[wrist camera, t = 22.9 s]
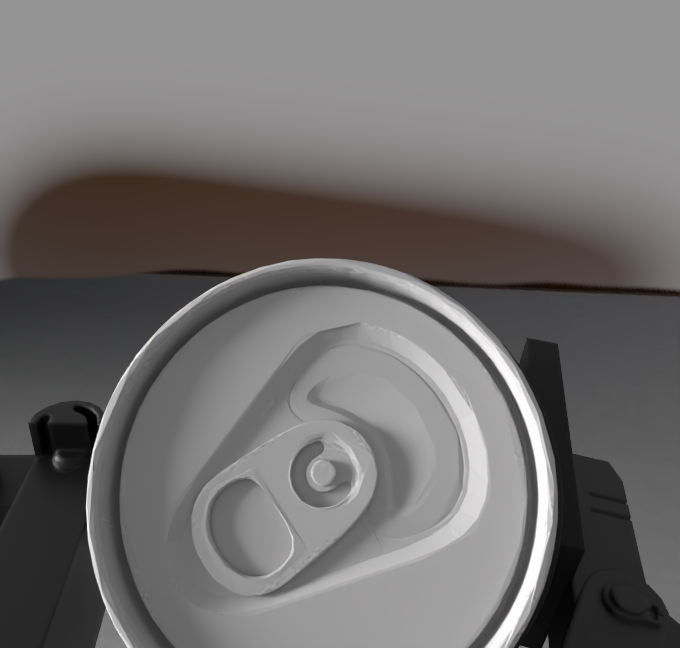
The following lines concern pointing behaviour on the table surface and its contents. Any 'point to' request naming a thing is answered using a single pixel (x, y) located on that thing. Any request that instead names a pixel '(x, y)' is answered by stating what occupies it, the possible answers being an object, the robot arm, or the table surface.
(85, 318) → the table surface
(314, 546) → the beverage can
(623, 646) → the robot arm
